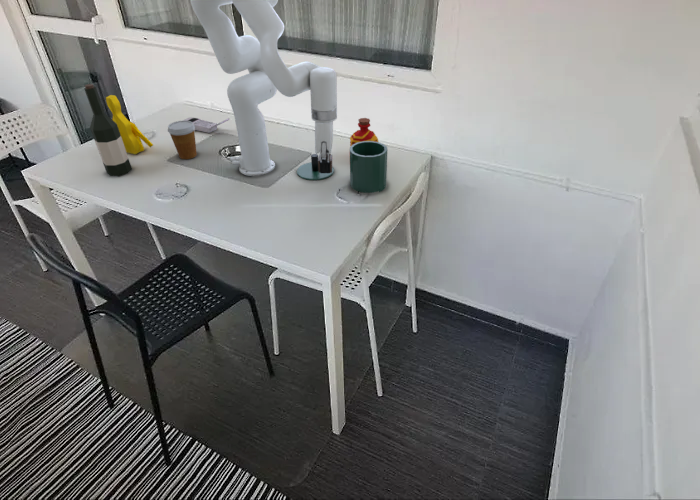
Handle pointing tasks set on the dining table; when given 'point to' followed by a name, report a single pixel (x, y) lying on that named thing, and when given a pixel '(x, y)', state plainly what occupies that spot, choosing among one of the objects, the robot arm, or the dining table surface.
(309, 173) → the green disc with handle
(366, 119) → the potion bottle
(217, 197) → the dining table surface
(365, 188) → the green tube
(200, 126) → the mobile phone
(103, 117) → the wine bottle
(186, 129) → the disposable coffee cup
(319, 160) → the block
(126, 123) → the figure statuette
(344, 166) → the dining table surface
